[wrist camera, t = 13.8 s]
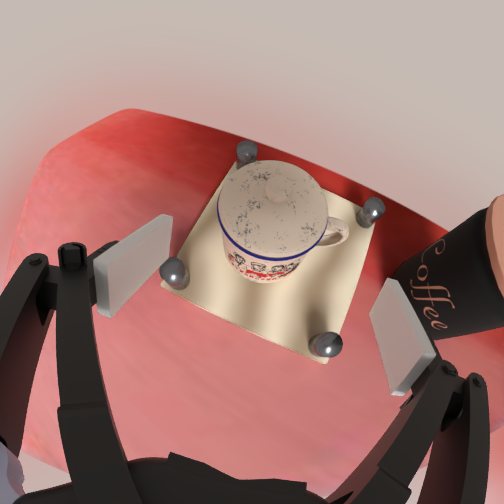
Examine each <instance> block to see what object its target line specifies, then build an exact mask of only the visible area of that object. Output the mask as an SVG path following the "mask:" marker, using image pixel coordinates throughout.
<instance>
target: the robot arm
mask: <svg viewBox="0 0 504 504" xmlns="http://www.w3.org/2000/svg"><path fill="white" fill-rule="evenodd" d="M172 225H173V216H169V215H165V214H161V215H159V216H158V217H156V218H154V219H153V220H151V221H150V222H148V223H147V224H145V225H144V226H142V227H140V228H139V229H137V230H136V231H134V232H133V233H131V234H130V235H128V236H127V237H125V238H124V239H122V240H121V241H120V242H119V241H113V242H109V243H107V244H105V245H104V246H102V247H101V248H99V249H98V250H96V251H95V252H94V253H92V254H91V255H89V256H88V257H87V249H86V246H85V245H83V244H81V243H78V242H71V243H66V244H63V245H62V246H60V247H59V249H58V258H59V266H60V267H58V266H53V265H49V262H48V257H47V256H46V255H44V254H41V253H34V254H31V255H29V256H27V257H26V258H25V259H24V260H23V262H22V263H21V265H20V266H19V267H18V269H17V270H16V272H15V273H14V275H13V276H12V278H11V280H10V281H9V283H8V284H7V286H6V287H5V289H4V291H3V292H2V294H1V296H0V504H405V503H406V502H407V500H408V499H409V497H410V495H411V489H409V488H408V486H409V484H410V482H411V481H412V479H413V477H414V475H415V474H416V472H417V470H418V468H419V467H420V465H421V463H422V461H423V459H424V457H425V455H426V454H427V452H428V450H429V448H430V446H431V444H432V441H433V444H432V449H431V454H430V459H429V463H428V468H427V471H426V475H425V479H424V482H423V486H422V489H421V493H420V496H419V499H418V502H417V504H484V503H485V497H486V489H487V481H488V470H489V451H490V450H489V449H490V424H489V405H488V394H487V385H486V382H485V381H484V378H483V377H482V376H481V375H479V374H477V373H471V374H470V375H469V376H468V377H467V378H466V379H464V378H462V377H459V376H458V372H457V369H456V368H455V367H454V365H452V364H451V363H450V362H448V361H446V360H442V358H441V356H440V354H439V351H438V349H437V347H436V346H435V343H434V341H433V340H432V337H431V335H430V333H429V332H428V331H427V330H426V328H425V327H424V326H422V324H421V322H420V321H419V319H418V317H417V315H416V313H415V311H414V309H413V307H412V305H411V304H410V302H409V300H408V298H407V296H406V295H405V293H404V291H403V289H402V288H401V286H400V284H399V282H398V281H397V280H394V279H390V278H387V279H386V281H385V283H384V285H383V287H382V289H381V291H380V293H379V295H378V297H377V299H376V301H375V303H374V305H373V307H372V309H371V311H370V313H369V316H370V320H371V323H372V326H373V329H374V333H375V336H376V340H377V343H378V346H379V350H380V354H381V357H382V361H383V365H384V368H385V372H386V376H387V380H388V384H389V388H390V393H391V395H400V396H404V395H405V394H406V392H407V391H408V390H409V389H410V388H411V390H412V393H413V394H412V395H411V396H410V397H409V398H408V399H407V400H406V401H405V402H404V404H403V405H402V406H401V407H400V409H401V410H400V412H399V413H398V415H397V416H396V418H395V419H394V421H393V422H392V424H391V425H390V426H389V428H388V429H387V431H386V432H385V433H384V435H383V436H382V437H381V439H380V440H379V441H378V443H377V444H376V445H375V446H374V448H373V449H372V450H371V451H370V453H369V454H368V455H367V456H366V458H365V459H364V460H363V461H362V462H361V463H360V465H359V466H358V467H357V468H356V469H355V470H354V471H353V473H352V474H351V475H350V476H349V477H348V478H347V479H346V480H345V481H344V482H343V483H342V484H341V486H340V487H339V488H338V489H337V490H336V491H335V492H333V493H332V494H331V495H330V496H328V497H327V498H326V499H323V498H322V497H320V496H318V495H317V494H315V493H312V492H310V491H308V490H306V486H307V482H298V481H289V480H281V479H255V480H239V479H235V478H233V477H231V476H229V475H227V474H225V473H223V472H221V471H219V470H217V469H215V468H213V467H211V466H209V465H207V464H205V463H203V462H200V461H196V460H193V459H190V458H187V457H184V456H181V455H178V454H175V453H172V452H170V454H169V456H168V458H158V457H148V458H140V459H135V460H131V461H128V460H127V457H126V455H125V452H124V449H123V447H122V444H121V441H120V438H119V435H118V432H117V429H116V426H115V422H114V419H113V415H112V412H111V408H110V404H109V401H108V397H107V393H106V389H105V384H104V380H103V375H102V371H101V366H100V361H99V355H98V350H97V344H96V337H95V331H94V323H93V315H92V308H91V307H92V306H93V305H94V304H95V303H97V311H98V313H100V314H102V315H104V316H106V317H108V318H112V317H113V316H114V315H115V314H116V313H117V311H118V310H119V309H120V308H121V307H122V306H123V305H124V304H125V303H126V302H127V301H128V300H129V298H130V297H131V296H132V295H133V294H134V293H135V292H136V291H137V290H138V289H139V288H140V287H141V286H142V285H143V284H144V283H145V282H146V281H147V279H148V278H149V277H150V276H151V275H152V274H153V273H154V272H155V271H156V270H157V269H158V268H159V267H160V266H161V265H162V264H163V263H164V262H165V261H166V260H167V259H168V258H169V250H170V241H171V233H172ZM55 310H56V357H57V374H58V385H59V395H60V407H58V409H57V414H58V422H59V428H60V434H61V439H62V444H63V449H64V454H65V458H66V462H67V466H68V470H69V474H70V477H71V480H72V482H70V483H66V484H63V485H59V486H56V487H52V488H48V489H44V490H40V491H35V492H31V493H27V494H25V492H24V490H23V487H22V483H23V481H24V475H23V470H22V466H21V464H20V461H19V460H18V456H19V452H20V449H21V445H22V439H23V433H24V426H25V419H26V413H27V408H28V402H29V397H30V393H31V388H32V384H33V379H34V375H35V371H36V367H37V364H38V360H39V356H40V353H41V350H42V346H43V343H44V340H45V337H46V334H47V331H48V328H49V325H50V322H51V319H52V316H53V313H54V311H55Z"/></svg>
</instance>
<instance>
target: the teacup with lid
mask: <svg viewBox="0 0 504 504" xmlns="http://www.w3.org/2000/svg"><path fill="white" fill-rule="evenodd" d="M217 215H218V220H219V223H220V226H221V228H222V234H223V244H224V251H225V255H226V258H227V260H228V262H229V264H230V265H231V267H232V268H233V269H234V270H235V271H236V272H237V273H238V274H239V275H241V276H242V277H244V278H246V279H248V280H250V281H253V282H257V283H274V282H278V281H280V280H283V279H285V278H286V277H288V276H290V275H291V274H292V273H293V272H294V271H295V270H296V269H297V268H298V266H299V265H300V263H301V262H302V260H303V259H304V258H305V256H306V255H307V253H308V252H309V251H310V250H311V249H313V248H314V247H330V246H334V245H337V244H340V243H342V242H343V241H345V240H346V239H347V237H348V235H349V227H348V225H347V224H346V223H345V222H344V221H343V220H341V219H338V218H334V217H328V205H327V201H326V197H325V195H324V193H323V191H322V189H321V187H320V186H319V184H318V183H317V182H316V181H315V179H314V178H313V177H312V176H310V175H309V174H308V173H307V172H305V171H304V170H302V169H301V168H299V167H297V166H295V165H292V164H290V163H286V162H282V161H275V160H264V161H258V162H254V163H250V164H248V165H246V166H244V167H242V168H240V169H239V170H237V171H236V172H234V173H233V174H232V175H231V176H230V177H229V178H228V180H227V181H226V182H225V184H224V185H223V187H222V189H221V191H220V194H219V197H218V202H217ZM325 230H330V231H335V233H332V234H329V235H324V233H325Z"/></svg>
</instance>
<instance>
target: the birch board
mask: <svg viewBox="0 0 504 504" xmlns="http://www.w3.org/2000/svg"><path fill="white" fill-rule="evenodd" d="M256 162H258V161H257V160H256ZM236 171H237V168H236V161H235V163H234V164H233V166H232V167H231V169H230V170H229V172H228V173H227V175H226V177H225V178H224V180H223V181H222V183H221V184H220V186H219V187H218V189H217V190H216V192H215V194H214V195H213V197H212V198H211V200H210V201H209V203H208V205H207V206H206V208H205V209H204V211H203V213H202V214H201V216H200V218H199V219H198V221H197V222H196V224H195V226H194V227H193V229H192V231H191V232H190V234H189V236H188V237H187V239H186V241H185V242H184V244H183V246H182V248H181V249H180V251H179V253H178V254H177V256H176V258H178V259H180V260H181V261H182V263H183V264H184V266H185V268H186V270H187V271H188V273H189V275H190V283H189V285H188V286H187V287H186V288H185V289H183V290H174V289H173V288H171V287H170V286H169V285H168V284H167V283H166V282H165V280H164V279H163V281H162V283H161V284H160V285H161V286H162V287H163V288H164V289H166V290H168V291H170V292H171V293H173V294H175V295H177V296H179V297H181V298H183V299H184V300H186V301H188V302H190V303H192V304H194V305H196V306H198V307H200V308H202V309H204V310H206V311H208V312H210V313H212V314H213V315H215V316H217V317H219V318H222V319H224V320H226V321H228V322H230V323H232V324H234V325H236V326H238V327H240V328H242V329H244V330H246V331H248V332H251V333H253V334H255V335H257V336H259V337H261V338H264V339H266V340H268V341H270V342H272V343H275V344H277V345H279V346H281V347H284V348H286V349H288V350H291V351H293V352H295V353H298V354H300V355H302V356H305V357H307V358H310V359H312V360H314V361H317V362H319V363H322V364H327V362H328V359H329V357H316V356H313V355H312V354H311V353H310V351H309V349H308V344H309V341H310V339H311V338H312V337H313V336H314V335H317V334H321V333H325V332H335V333H337V334H338V335H339V332H340V330H341V327H342V325H343V322H344V319H345V317H346V314H347V311H348V309H349V306H350V303H351V300H352V297H353V294H354V292H355V289H356V286H357V283H358V280H359V276H360V273H361V270H362V267H363V264H364V261H365V257H366V254H367V251H368V247H369V244H370V240H371V237H372V233H373V229H374V226H375V223H374V224H373V225H372V226H371V227H370V228H367V229H366V228H362V227H361V226H359V225H358V223H357V222H356V214H357V213H358V211H359V210H360V209H361V208H362V207H360V206H358V205H356V204H354V203H352V202H350V201H348V200H346V199H344V198H342V197H340V196H338V195H335V194H333V193H331V192H329V191H327V190H325V189H323V188H321V189H322V191H323V193H324V195H325V197H326V201H327V205H328V217H334V218H338V219H341V220H343V221H344V222H345V223H346V224H347V225H348V227H349V235H348V237H347V239H346V240H345V241H343V242H342V243H340V244H337V245H334V246H330V247H314V248H313V249H311V250H310V251H309V252H308V253H307V255H306V256H305V258H304V259H303V260H302V262H301V263H300V265H299V266H298V268H297V269H296V270H295V271H294V272H293V273H292V274H291V275H290V276H288V277H286V278H285V279H283V280H280V281H278V282H274V283H257V282H253V281H250V280H248V279H246V278H244V277H242V276H241V275H239V274H238V273H237V272H236V271H235V270H234V269H233V268H232V267H231V265H230V264H229V262H228V260H227V258H226V255H225V251H224V244H223V234H222V228H221V226H220V223H219V220H218V215H217V202H218V197H219V194H220V191H221V189H222V187H223V185H224V184H225V182H226V181H227V180H228V178H229V177H230V176H231V175H232V174H233V173H234V172H236ZM332 233H335V231H330V230H325V233H324V235H329V234H332Z"/></svg>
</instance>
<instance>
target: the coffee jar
mask: <svg viewBox="0 0 504 504" xmlns="http://www.w3.org/2000/svg"><path fill="white" fill-rule="evenodd" d="M392 279H394V280H397V281H398V282H399V284H400V286H401V288H402V289H403V291H404V293H405V295H406V296H407V298H408V300H409V302H410V304H411V305H412V307H413V309H414V311H415V313H416V315H417V317H418V319H419V321H420V322H421V324H422V326H424V327H425V328H426V330H427V331H428V332H429V333H430V335H431V337H432V340H439V339H445V338H451V337H457V336H462V335H468V334H473V333H478V332H482V331H487V330H491V329H496V328H500V327H504V195H501V196H498V197H496V198H495V199H494V200H493V201H492V202H491V204H490V206H489V207H487V208H485V209H483V210H480V211H478V212H476V213H475V214H474V215H472V216H471V217H470V218H468V219H467V220H466V221H464V222H463V223H461V224H460V225H459V226H457V227H456V228H454V229H453V230H452V231H450V232H449V233H447V234H446V235H444V236H443V237H441V238H440V239H439V240H437V241H436V242H434V243H433V244H431V245H430V246H428V247H427V248H425V249H424V250H422V251H421V252H419V253H417V254H416V255H414V256H413V257H411V258H410V259H408V260H407V261H405V262H404V263H403V264H402V265H401V266H400V267H399V268H398V269H397V270H396V271H395V274H394V276H393V278H392Z"/></svg>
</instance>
